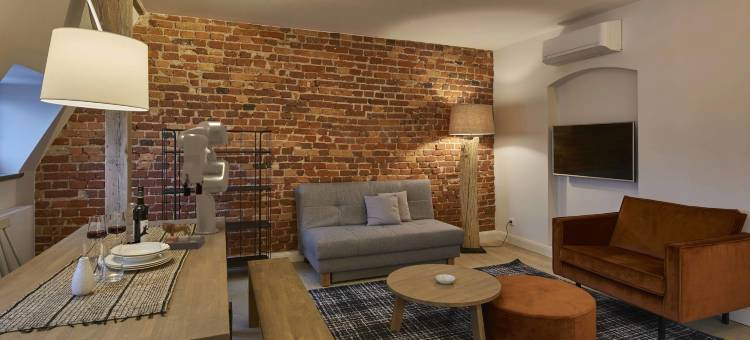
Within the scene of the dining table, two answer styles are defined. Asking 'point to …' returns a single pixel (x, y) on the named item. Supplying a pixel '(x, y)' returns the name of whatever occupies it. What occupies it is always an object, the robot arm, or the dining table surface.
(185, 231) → the lion figurine
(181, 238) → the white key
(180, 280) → the dining table surface
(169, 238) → the terracotta key
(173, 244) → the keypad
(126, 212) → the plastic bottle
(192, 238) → the sage key
